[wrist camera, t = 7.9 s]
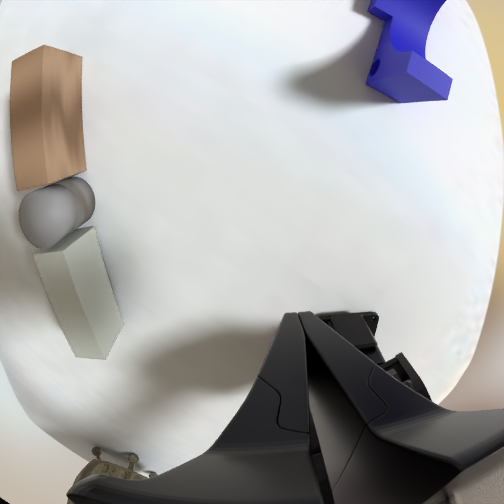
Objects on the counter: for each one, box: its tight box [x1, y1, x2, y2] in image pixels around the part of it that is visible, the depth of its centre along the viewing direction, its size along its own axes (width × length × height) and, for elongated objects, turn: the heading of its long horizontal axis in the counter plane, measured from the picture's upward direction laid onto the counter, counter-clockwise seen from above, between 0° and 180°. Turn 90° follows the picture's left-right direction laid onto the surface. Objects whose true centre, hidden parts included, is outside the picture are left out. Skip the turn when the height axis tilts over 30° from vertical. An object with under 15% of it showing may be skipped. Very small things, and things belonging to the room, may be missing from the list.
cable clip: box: [366, 0, 453, 103], centre depth 12 cm, size 12×4×6 cm, turn 161°
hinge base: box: [10, 45, 95, 231], centre depth 15 cm, size 13×4×5 cm, turn 2°
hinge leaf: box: [19, 184, 124, 360], centre depth 19 cm, size 13×4×5 cm, turn 5°
